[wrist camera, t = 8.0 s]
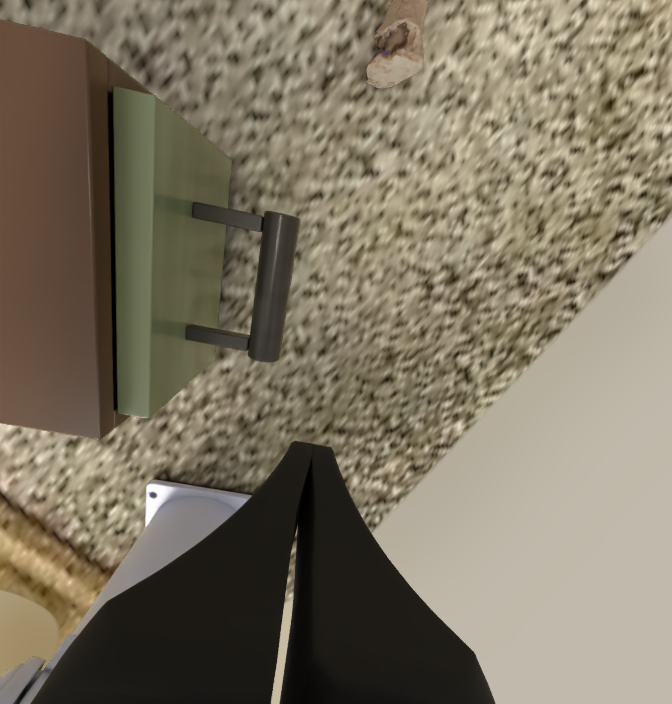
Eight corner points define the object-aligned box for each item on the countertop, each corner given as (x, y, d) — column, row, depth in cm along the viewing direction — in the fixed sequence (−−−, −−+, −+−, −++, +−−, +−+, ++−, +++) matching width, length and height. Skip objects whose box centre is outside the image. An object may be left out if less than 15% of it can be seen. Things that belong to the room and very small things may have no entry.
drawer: (316, 177, 16) (300, 127, 9) (285, 372, 19) (257, 438, 12) (-40, 99, 15) (-336, -17, 8) (-10, 318, 18) (-207, 357, 11)
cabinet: (215, 145, 16) (86, 37, 8) (200, 360, 20) (100, 441, 11) (-71, 82, 15) (-542, -110, 7) (-33, 317, 19) (-319, 370, 11)
